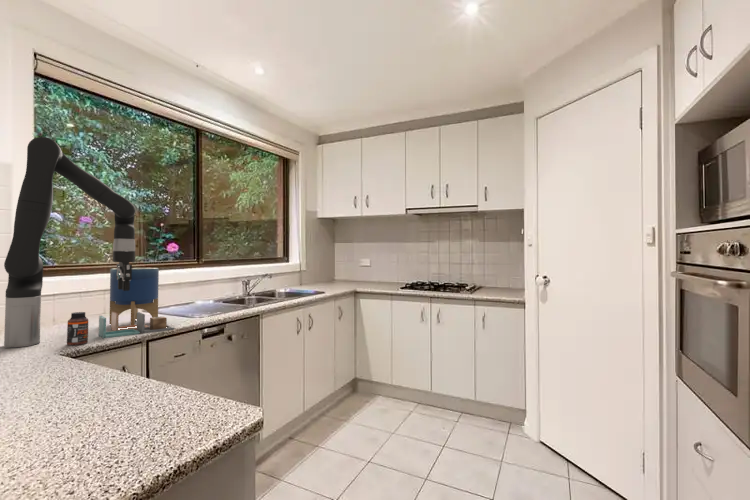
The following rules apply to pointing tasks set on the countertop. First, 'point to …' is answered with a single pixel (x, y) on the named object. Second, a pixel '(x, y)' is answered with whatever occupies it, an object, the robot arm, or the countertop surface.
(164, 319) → the letter cube
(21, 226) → the robot arm
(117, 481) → the countertop surface
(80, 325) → the supplement bottle
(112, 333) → the tray teal
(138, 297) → the planter
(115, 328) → the pale pink holder
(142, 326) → the gray bookend
